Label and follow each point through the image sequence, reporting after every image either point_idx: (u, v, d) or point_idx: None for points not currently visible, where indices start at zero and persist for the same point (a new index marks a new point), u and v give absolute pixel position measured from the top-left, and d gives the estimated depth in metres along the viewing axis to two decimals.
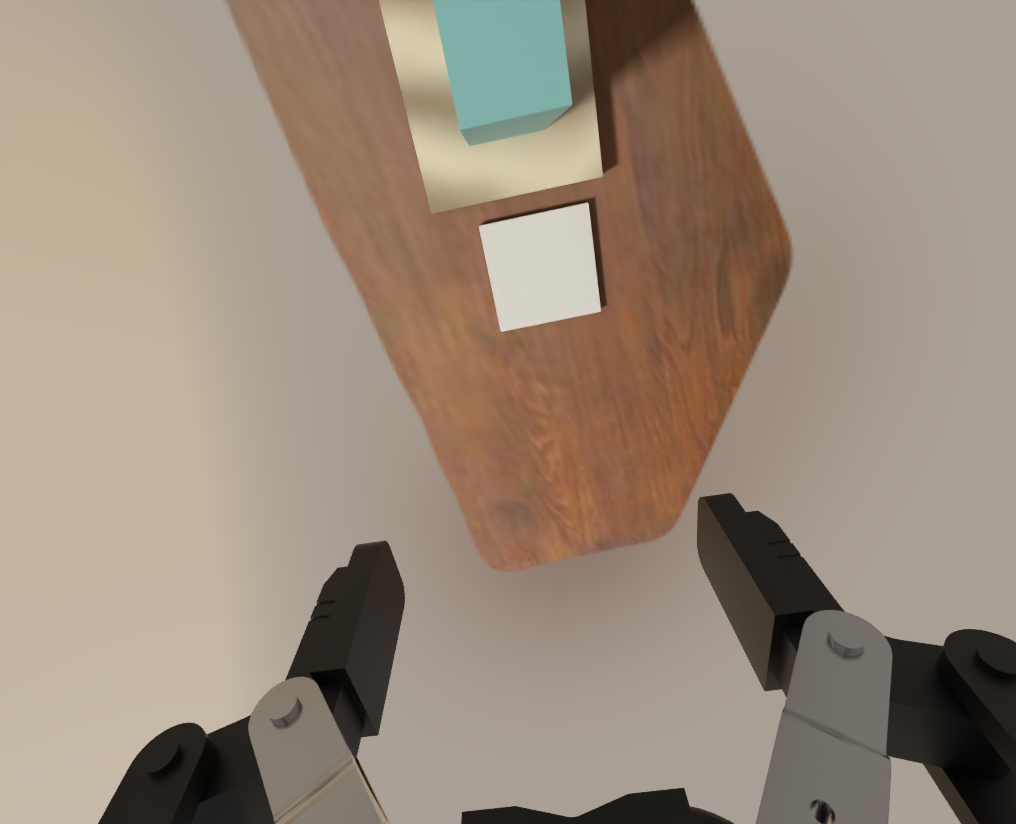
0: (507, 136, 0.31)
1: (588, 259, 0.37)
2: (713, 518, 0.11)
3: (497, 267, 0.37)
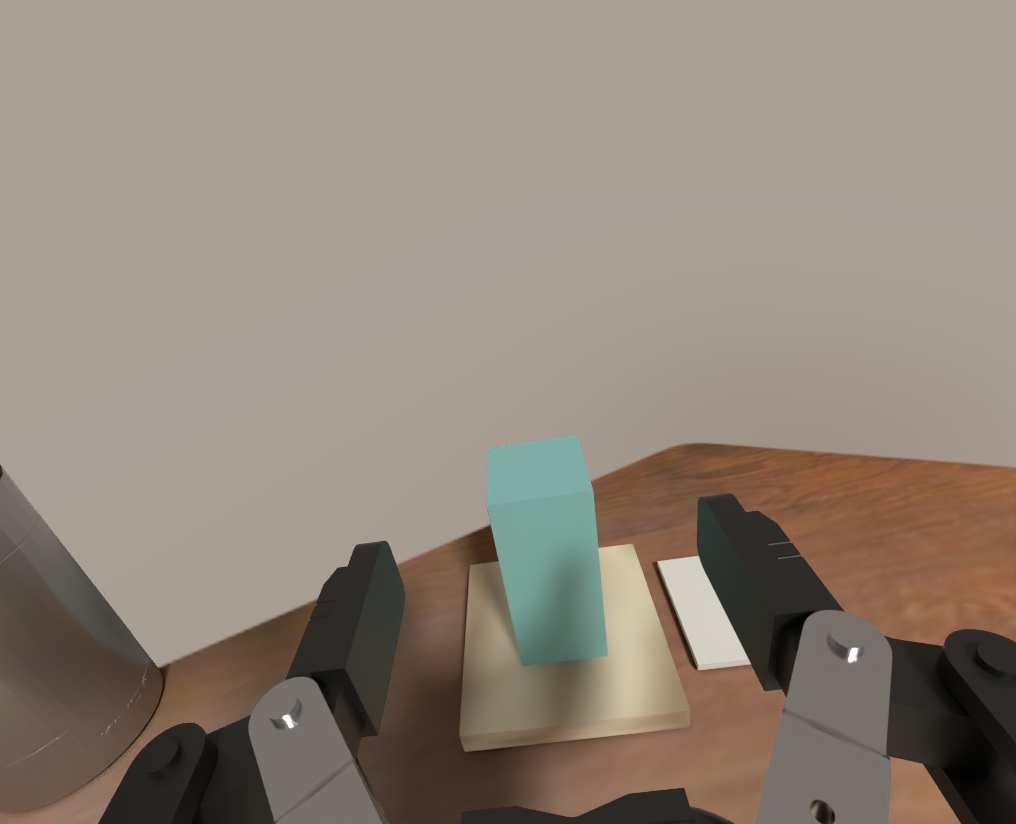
0: None
1: None
2: (713, 518, 0.11)
3: None
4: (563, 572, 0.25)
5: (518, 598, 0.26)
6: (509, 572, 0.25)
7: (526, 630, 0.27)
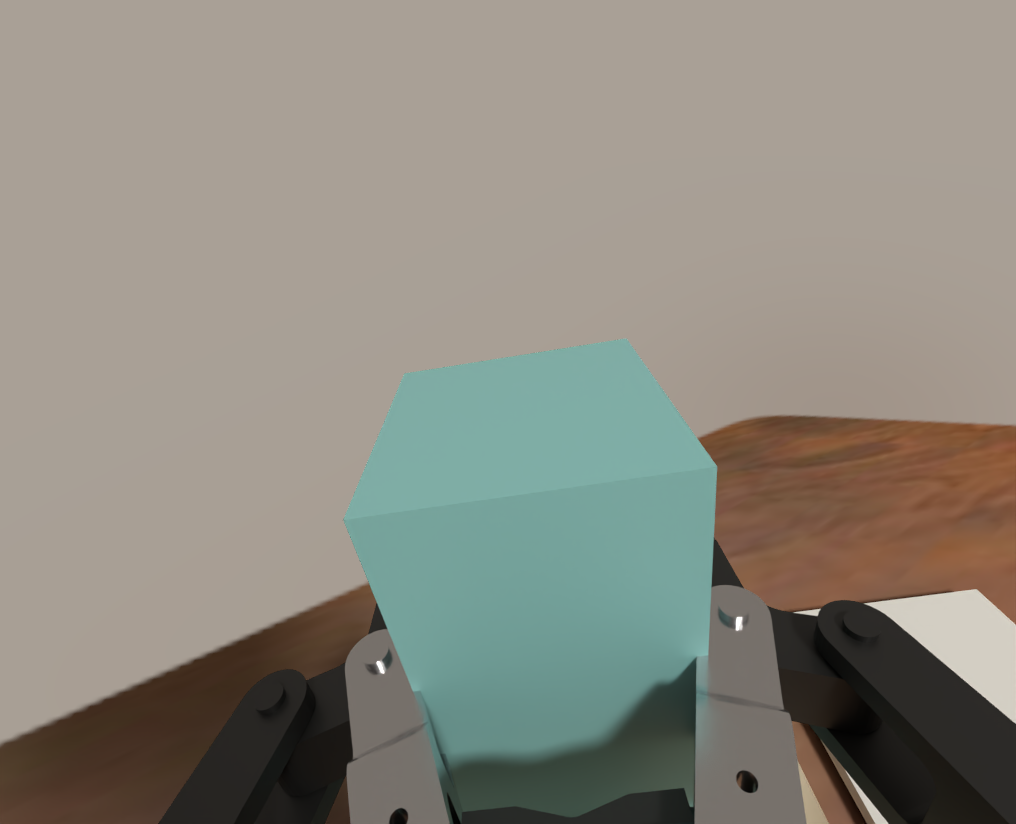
0: None
1: None
2: None
3: None
4: (599, 709, 0.09)
5: (475, 770, 0.10)
6: (444, 711, 0.09)
7: None
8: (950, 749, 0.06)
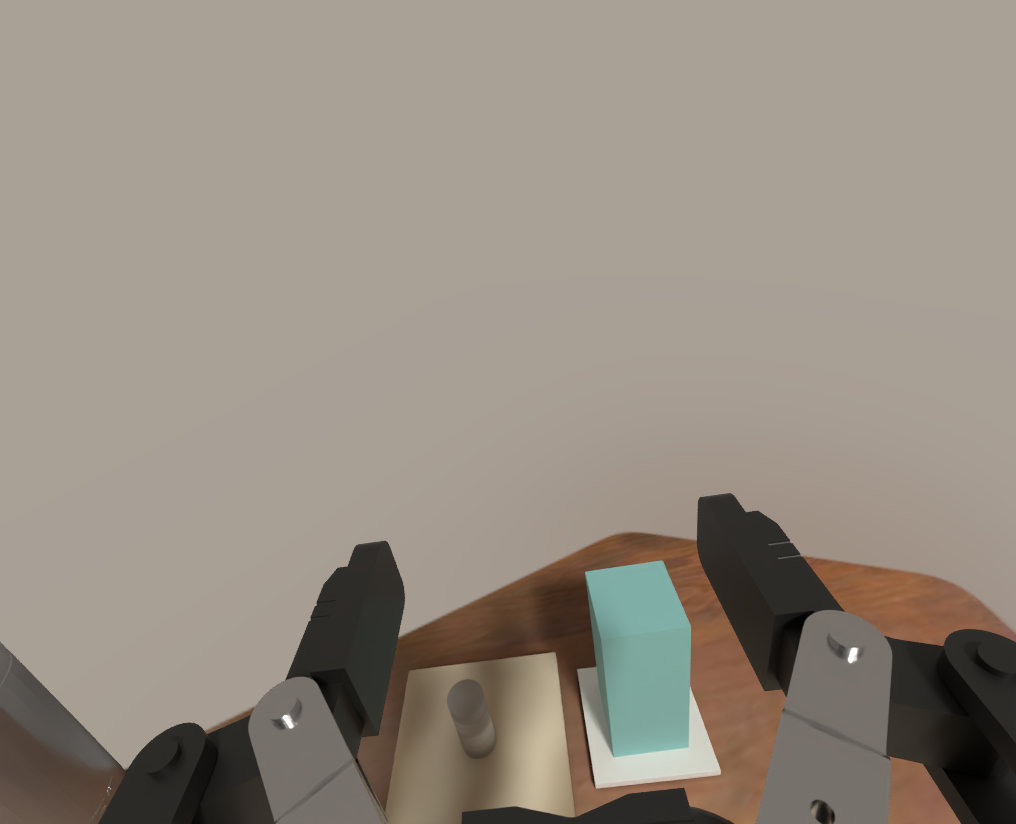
0: None
1: None
2: (713, 518, 0.11)
3: (640, 766, 0.32)
4: (658, 686, 0.29)
5: (617, 706, 0.30)
6: (613, 687, 0.29)
7: (621, 730, 0.31)
8: None
